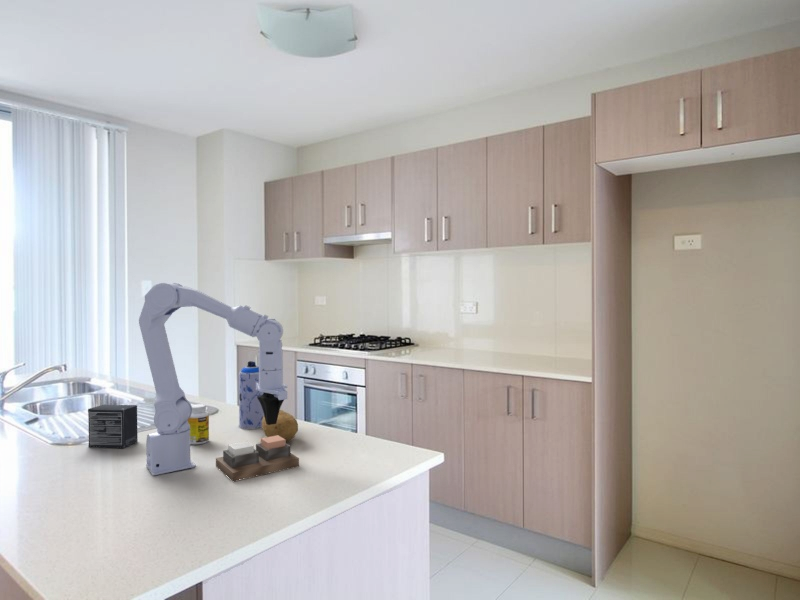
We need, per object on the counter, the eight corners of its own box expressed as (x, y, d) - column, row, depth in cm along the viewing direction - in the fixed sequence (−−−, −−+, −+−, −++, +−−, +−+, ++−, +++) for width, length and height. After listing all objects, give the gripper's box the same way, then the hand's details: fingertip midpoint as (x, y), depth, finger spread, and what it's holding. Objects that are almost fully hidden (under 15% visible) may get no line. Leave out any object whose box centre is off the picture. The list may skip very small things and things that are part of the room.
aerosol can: (238, 423, 159) (238, 360, 159) (264, 421, 161) (264, 359, 161) (238, 430, 152) (238, 364, 151) (265, 428, 154) (265, 363, 153)
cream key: (234, 458, 116) (234, 449, 116) (228, 452, 119) (228, 444, 119) (253, 454, 118) (253, 445, 118) (246, 449, 122) (246, 441, 122)
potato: (273, 450, 133) (272, 420, 133) (255, 437, 145) (254, 409, 145) (307, 443, 139) (306, 414, 139) (287, 431, 151) (287, 404, 150)
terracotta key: (268, 451, 121) (267, 442, 121) (260, 446, 124) (260, 438, 124) (285, 447, 123) (285, 439, 123) (277, 443, 127) (277, 435, 127)
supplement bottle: (198, 446, 136) (197, 408, 136) (182, 443, 139) (182, 406, 138) (213, 440, 142) (213, 404, 141) (198, 438, 144) (198, 402, 143)
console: (232, 481, 112) (232, 462, 112) (215, 466, 121) (215, 448, 121) (299, 466, 122) (298, 448, 121) (278, 453, 131) (278, 436, 131)
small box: (139, 441, 141) (138, 404, 141) (124, 449, 134) (123, 409, 134) (103, 440, 142) (103, 403, 142) (87, 447, 135) (86, 408, 135)
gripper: (299, 371, 120) (299, 427, 121) (274, 363, 132) (274, 415, 132) (271, 374, 116) (271, 432, 117) (247, 366, 128) (248, 419, 128)
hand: (271, 423), depth 124 cm, fingers closed
